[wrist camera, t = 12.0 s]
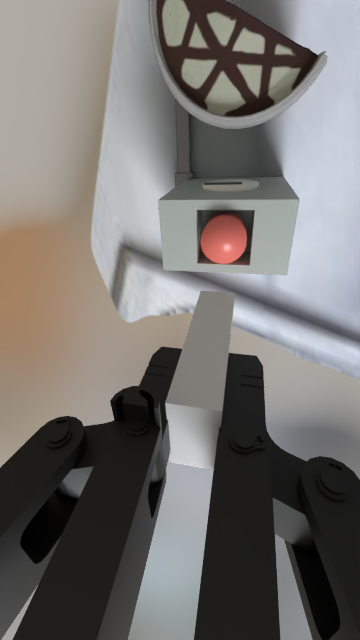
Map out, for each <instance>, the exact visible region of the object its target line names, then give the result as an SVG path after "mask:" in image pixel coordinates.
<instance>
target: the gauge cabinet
mask: <svg viewBox="0 0 360 640" xmlns="http://www.w3.org/2000/svg"><path fill="white" fill-rule="evenodd" d="M299 200H300V199H299V198H298V197H297V195H296V194H295V192H294V191H293V189H292V188H291V187H290V185H289V184H288V182H287V181H286V179H285V178H284V177H239V178H194V179H192V180H185V181H183V182H182V183H181V184H179V185H178V186H177V187H175V188H174V189H173V190H171V191H170V192H169V193H167V194H166V195H165V196H163V197H162V198H160V199H159V200H158V203H159V216H160V229H161V242H162V255H163V268H164V270H175V271H198V272H221V273H245V274H268V275H287V271H288V265H289V259H290V253H291V247H292V241H293V235H294V229H295V223H296V217H297V211H298V206H299ZM222 211H231V212H234V213H236V214H238V215H239V216H241V217H242V219H243V220H244V222H245V224H246V227H247V243H246V248H245V250H244V252H243V254H242V255H241V256H240V257H239V258H238V259H237V260H235V261H233V262H231V263H227V264H220V263H216V262H213V261H211V260H210V259H209V258H207V257H206V255H205V254H204V253H203V251H202V248H201V235H202V232H203V230H204V228H205V226H206V224H207V222H208V221H209V219H210V218H211V217H212V216H213V215H215V214H216V213H219V212H222Z"/></svg>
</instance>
